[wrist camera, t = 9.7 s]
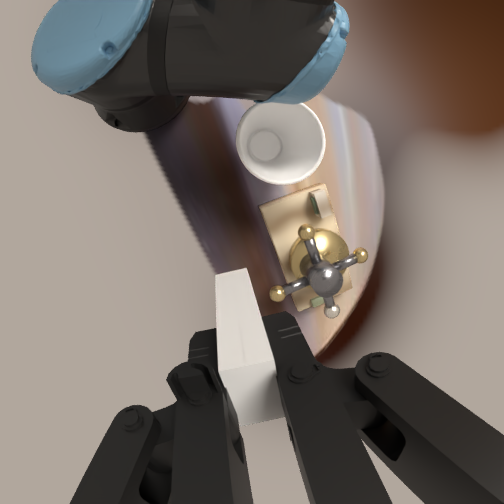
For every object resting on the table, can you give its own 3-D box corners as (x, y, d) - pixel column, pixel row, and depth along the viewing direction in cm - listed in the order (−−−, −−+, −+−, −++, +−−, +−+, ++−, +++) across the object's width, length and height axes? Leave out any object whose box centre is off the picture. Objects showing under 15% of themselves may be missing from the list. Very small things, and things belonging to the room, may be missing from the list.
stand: (258, 205, 41) (264, 211, 36) (319, 183, 41) (331, 186, 36) (294, 304, 47) (302, 319, 42) (346, 282, 47) (358, 294, 42)
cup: (276, 191, 40) (297, 202, 30) (217, 157, 38) (218, 155, 27) (309, 136, 38) (340, 129, 28) (252, 101, 36) (266, 80, 25)
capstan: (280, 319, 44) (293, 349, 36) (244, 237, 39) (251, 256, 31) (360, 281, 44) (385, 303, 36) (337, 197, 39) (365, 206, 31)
